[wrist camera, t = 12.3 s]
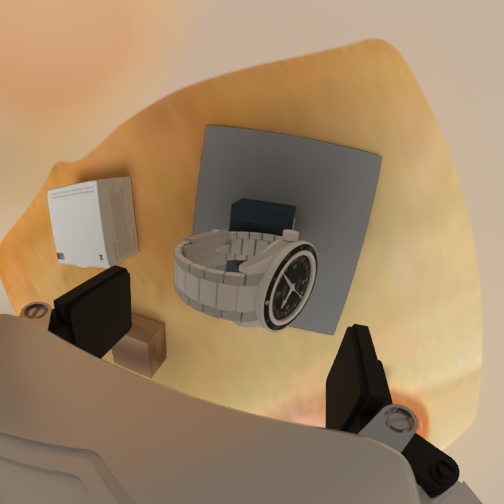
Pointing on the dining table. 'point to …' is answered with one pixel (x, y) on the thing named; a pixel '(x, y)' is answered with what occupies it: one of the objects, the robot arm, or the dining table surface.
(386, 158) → the dining table surface
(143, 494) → the robot arm
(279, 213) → the watch
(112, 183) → the small box
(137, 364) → the walnut block
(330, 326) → the slate mat
